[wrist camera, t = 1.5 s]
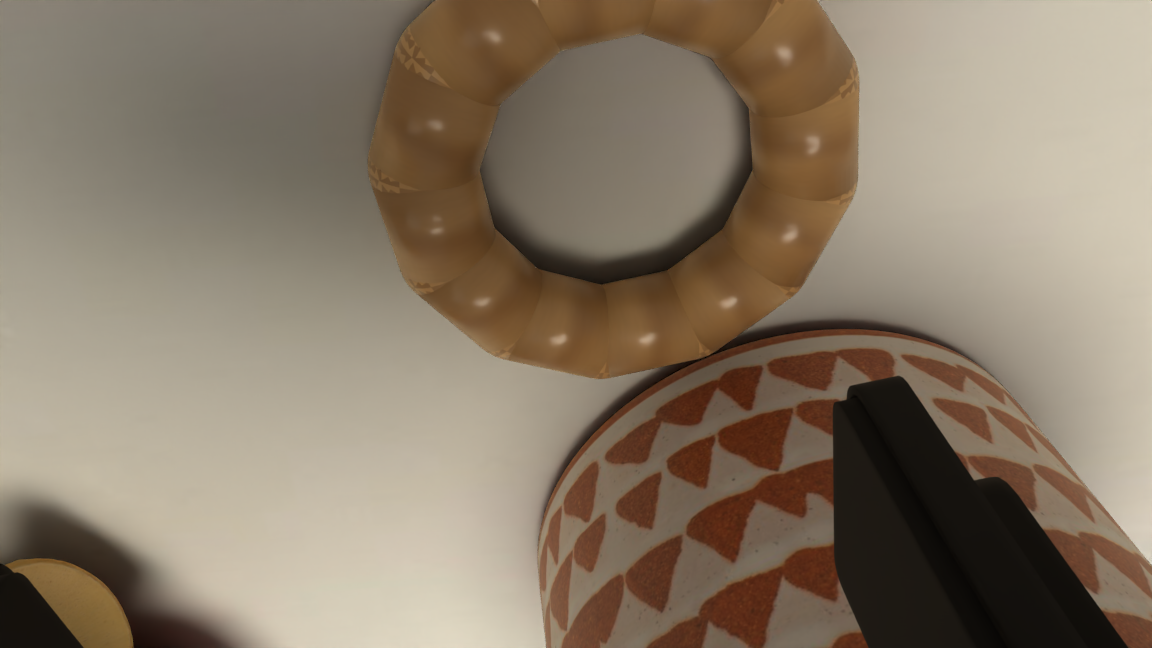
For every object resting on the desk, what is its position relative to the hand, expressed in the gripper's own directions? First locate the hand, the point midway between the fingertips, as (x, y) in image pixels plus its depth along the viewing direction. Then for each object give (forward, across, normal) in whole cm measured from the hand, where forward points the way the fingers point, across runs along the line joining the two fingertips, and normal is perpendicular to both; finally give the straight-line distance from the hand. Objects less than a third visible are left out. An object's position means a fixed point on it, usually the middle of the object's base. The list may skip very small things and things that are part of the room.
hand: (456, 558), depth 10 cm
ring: (+8, -3, 0) cm, 9 cm away
